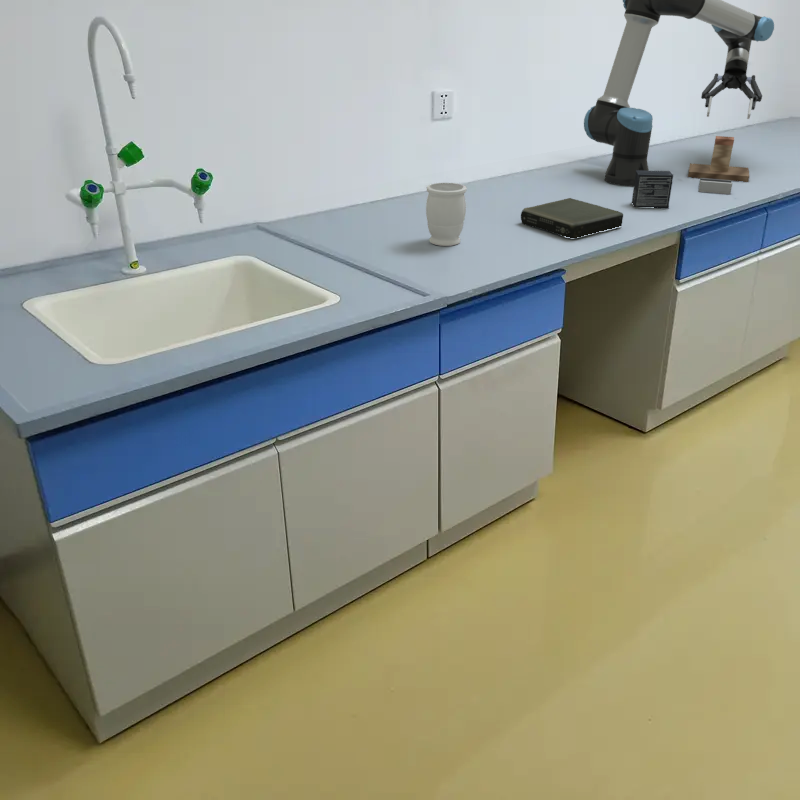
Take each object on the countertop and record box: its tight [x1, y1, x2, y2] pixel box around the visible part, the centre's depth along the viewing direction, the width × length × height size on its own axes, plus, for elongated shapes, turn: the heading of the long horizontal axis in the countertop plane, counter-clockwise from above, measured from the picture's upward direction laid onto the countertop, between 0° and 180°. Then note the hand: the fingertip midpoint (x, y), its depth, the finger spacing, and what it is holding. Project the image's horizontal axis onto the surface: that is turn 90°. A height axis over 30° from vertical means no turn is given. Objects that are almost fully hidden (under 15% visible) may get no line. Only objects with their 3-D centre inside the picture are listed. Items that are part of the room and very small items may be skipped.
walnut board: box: [687, 163, 750, 183], centre depth 289 cm, size 20×14×2 cm
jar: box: [425, 182, 468, 247], centre depth 217 cm, size 11×10×15 cm
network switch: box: [520, 197, 624, 238], centre depth 234 cm, size 23×23×5 cm
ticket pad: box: [710, 135, 735, 172], centre depth 286 cm, size 6×5×11 cm
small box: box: [631, 170, 674, 209], centre depth 251 cm, size 11×6×10 cm, turn 84°
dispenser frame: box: [698, 178, 733, 195], centre depth 271 cm, size 10×9×4 cm
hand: (728, 115), depth 287 cm, fingers open, 13 cm apart
